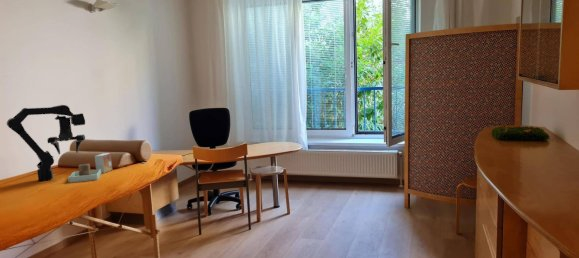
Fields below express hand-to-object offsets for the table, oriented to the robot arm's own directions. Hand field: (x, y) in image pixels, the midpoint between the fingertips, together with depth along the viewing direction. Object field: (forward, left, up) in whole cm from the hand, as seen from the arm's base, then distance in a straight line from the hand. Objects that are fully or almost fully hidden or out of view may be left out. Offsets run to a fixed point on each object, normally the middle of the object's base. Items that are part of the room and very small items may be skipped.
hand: (68, 153), depth 247 cm
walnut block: (+10, -13, -12) cm, 20 cm away
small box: (+18, +2, -13) cm, 22 cm away
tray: (+10, -13, -13) cm, 21 cm away
